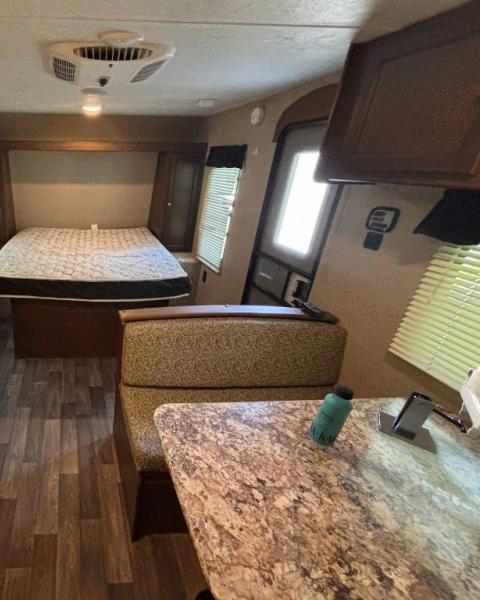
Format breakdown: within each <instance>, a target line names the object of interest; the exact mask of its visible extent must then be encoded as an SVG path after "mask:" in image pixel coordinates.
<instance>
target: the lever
mask: <svg viewBox="0 0 480 600" xmlns="http://www.w3.org/2000/svg"><path fill="white" fill-rule="evenodd" d="M416 397H418V398H421V399H424V400H427V401H429V400H428V399H426V398H424V397H423V396H421V395H418V396H416ZM413 399H414V398H413ZM413 399H412V400H413ZM432 412H433V413H435V414H437V416H440V417H441V418H443V419H445V420H446V421H448V422H449V423H451V424H453V425H455V427H458V428H459V430H460V432H461V433H462V434H467V433H466V431H467V430H468V429H467V427H466V425H465V422H464V420H462V419H455V418H454V417H452V416H450V415H448V414H447V413H445V412H444V411H442V410H440V409H439V408H437V407H436V406H435V407H434V409H433V410H432Z"/></svg>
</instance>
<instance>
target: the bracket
mask: <svg viewBox="0 0 480 600" xmlns="http://www.w3.org/2000/svg"><path fill="white" fill-rule="evenodd" d="M418 395H421V396H423V397H424V398H426V399H428V400H429V401H427V400H424V399H421V398H418V397H416V396H418ZM413 398H414V399H413ZM412 399H413V400H412ZM434 399H435V397H434V396H433V395H430V394H428V393H424V392H421V391H418V390H415V389H413V390H412V391H411V393H410V394H409V396H408V397H407V399H406V401H405V402H404V404H403V406H402V408H401V409H400V411H399V413H398V414H397V416H395V415H392V414H389V413H387V412H384V411H381V410H378V412H377V424H378V425H377V427H378V432H379V431H380V432H381V433H384V434H386V433H387V434H386V435H389V436H392V437H394V438H396V439H398V440H401V441H403V442H406V443H408V444H411V445H414V446H416V447H418V448H420V449H423V450H426V451H428V452H430V453H432V452H433V451H434V450H435V449H434V445H433V441H432V437H431V432H430V430H429V429H428V428H426V427H423V425H424V424H425V423H426V421H427V420H428V418H429V417H430V415H431V414H432V412H433V411H432V410H433V409H434V407H435V408H436V406H437V404H436V403H435V402H433V401H434Z"/></svg>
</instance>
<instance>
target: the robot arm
mask: <svg viewBox="0 0 480 600" xmlns="http://www.w3.org/2000/svg"><path fill="white" fill-rule="evenodd" d="M459 394H460V397H461V400H462V401H463V402H462V405H461V409H460V410H459V412H458V415H459V417H460V418H462V419H464V420H469V419H470V420H471V423H472V426H471V427H468V428H467V429H466V430H467V431H466V433H465V434H466V435H467V436H468V437H469V438H472V439H477V438H478V437H479V436H480V365H479V366H477V367H476V368H473V367H471V368H469V369H468V371H467V377H466V379H465V380H464V382H463V383H462V385H461V388H460V392H459Z"/></svg>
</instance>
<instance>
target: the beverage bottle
mask: <svg viewBox="0 0 480 600" xmlns="http://www.w3.org/2000/svg"><path fill="white" fill-rule="evenodd" d="M354 395H355V391H354V390H353V389H351V388H350V387H348V386H346V385H342V384H339V385H337V386H335V389H334V390H333V393H328V394H326V395H325V397H324V400H323V401H322V404H321V406H320V407H319V408H318V410H317V412H316V414H315V416H314V418H313V421H312V422H311V424H310V427H309V429H308V436H309V438H310V439H311V440H312V441H314V442H315V443H316V444H318V445H321V446H324V447H332V446H333V445H334V444H335V443H336V441H337V440H338V438H339V436H340V435H341V432H342V430H343V427H344V426H345V424H346V422H347V419H348V418H349V416H350V414H351V412H352V411H353V410H354V405H353V403H352V402H351V401H352V400H353V398H354Z"/></svg>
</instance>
